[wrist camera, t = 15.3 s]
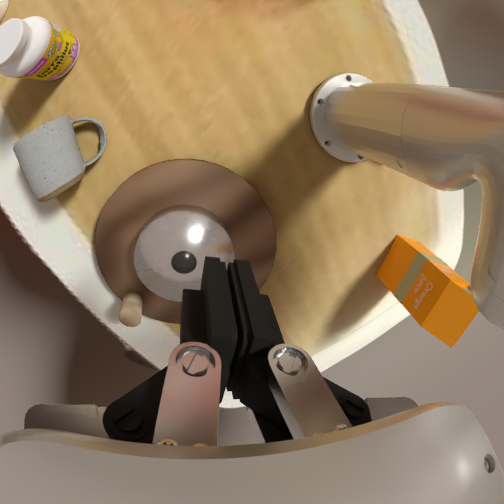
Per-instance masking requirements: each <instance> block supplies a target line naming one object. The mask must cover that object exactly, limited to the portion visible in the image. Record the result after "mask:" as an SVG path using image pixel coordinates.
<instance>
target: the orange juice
mask: <svg viewBox="0 0 504 504" xmlns="http://www.w3.org/2000/svg"><path fill="white" fill-rule="evenodd" d="M376 276H377V277H378V278H379V279H380V280H381V281H382V282H383V283H384V285H385V286H386V287H387V288H388V289H389V290H390V291H391V292H392V293H393V295H394V296H395V297H396V298H397V299H398V301H399V302H400V303H401V304H402V305H403V306H404V307H405V308H406V309H407V310H408V312H409V313H410V314H411V315H412V316H413V317H414V319H415V320H416V321H417V322H418V323H419V324H420V326H421V327H423V328H424V329H426V330H427V331H429V332H430V333H431V334H433V335H434V336H436V337H437V338H438V339H440V340H441V341H443V342H444V343H446V344H447V345H448V346H449V347H451V348H452V347H453V346H454V344H455V343H456V342H457V341H458V339H459V338H460V337H461V335H462V334H463V333H464V331H465V330H466V328H467V327H468V326H469V324H470V323H471V321H472V320H473V319H474V317H475V316H476V314H477V313H478V311H479V310H478V308H477V306H476V304H475V302H474V300H473V296H472V291H471V286H470V285H469V284H468V283H467V282H466V281H465V280H464V279H463V278H462V277H461V276H459V275H458V274H457V273H456V272H455V271H454V270H453V269H451V268H450V267H449V266H448V265H447V264H446V263H445V262H444V261H442V260H441V259H440V258H438V257H437V256H436V255H435V254H433V253H432V252H431V251H430V250H428V249H427V248H426V247H425V246H423V245H422V244H421V243H419V242H417V241H414V240H411V239H408V238H406V237H403V236H400V235H397V236H396V238H395V240H394V242H393V244H392V246H391V248H390V250H389V252H388V254H387V256H386V258H385V260H384V261H383V263H382V265H381V267H380V269H379V271H378V273H377V274H376Z"/></svg>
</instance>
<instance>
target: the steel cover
mask: <svg viewBox="0 0 504 504" xmlns="http://www.w3.org/2000/svg"><path fill="white" fill-rule="evenodd" d="M205 256H209V257H219V258H220V261H221V262H225V264H226V270H227V267H228V263H229V262H231V263H233V261H234V259H235V253H234V248H233V245H232V242H231V238H230V235H229V232H228V230H227V228H226V226H225V225H224V224H223V222H222V221H221V220H220V219H219V218H218V217H217V216H216V215H215V214H213V213H212V212H210V211H208V210H207V209H204V208H202V207H198V206H195V205H174V206H170V207H167V208H164V209H162V210H160V211H158V212H157V213H155V214H154V215H153V216H151V217H150V218H149V219H148V220H147V222H146V223H145V224H144V226H143V228H142V230H141V232H140V235H139V238H138V240H137V243H136V246H135V251H134V265H135V269H136V272H137V274H138V276H139V278H140V280H141V281H142V282H143V284H144V285H145V286H146V287H147V288H148V289H149V290H150V291H152V292H153V293H155V294H156V295H158V296H160V297H162V298H165V299H168V300H172V301H177V302H182V293H183V289H194V290H200V287H201V280H202V273H203V266H204V260H205Z"/></svg>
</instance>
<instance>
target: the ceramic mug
mask: <svg viewBox="0 0 504 504" xmlns="http://www.w3.org/2000/svg"><path fill="white" fill-rule="evenodd" d="M81 121H91V122H93V123H95V124H96V125H97V126H98V130H99V134H100V142H99V143H100V145H101V146H100V151H99V152H98V154H97V155H96V156H95V157H94V158H93V159H91V160H90V161H88V162H86V163H84V161H83V158H82V155H81V152H80V148H79V147H78V143H77V139H76V135H75V132H74V129H73V124H74V123H77V122H81ZM106 143H107V137H106V131H105V128H104V126H103V124H102V123H101V122H100V121H99V120H97V119H94V118H91V117H81V118H77V119H74V120H71V118H70V116H69V115H63V116H60V117H57V118H55V119H53V120H51V121H49V122H47V123H45V124H43V125H41V126H39V127H37V128H36V129H34V130H32V131H31V132H29V133H28V134H27V135H25V136H24V137H22V138H21V139H20V140H19V141H17V142H16V143H15V144H14V147H13V150H14V152H15V155H16V157H17V159H18V162H19V164H20V167H21V169H22V171H23V173H24V175H25V177H26V180H27V182H28V184H29V186H30V188H31V190H32V192H33V194H34V195H35V196H36V198H37V199H38V200H39V201H41V202H45V201H48V200H50V199H52V198H54V197H55V196H57V195H59V194H60V193H62V192H64V191H65V190H67V189H68V188H70V187H71V186H73V185H74V184H76V183H77V182H78V181H80V180H81V179H82V178H83V176H84V174H85V168H86V166H88V165H90V164H92V163H93V162H95V161H96V160H97V159H98V158H99V157H100V156H101V155H102V153H103V152H104V150H105V147H106Z"/></svg>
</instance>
